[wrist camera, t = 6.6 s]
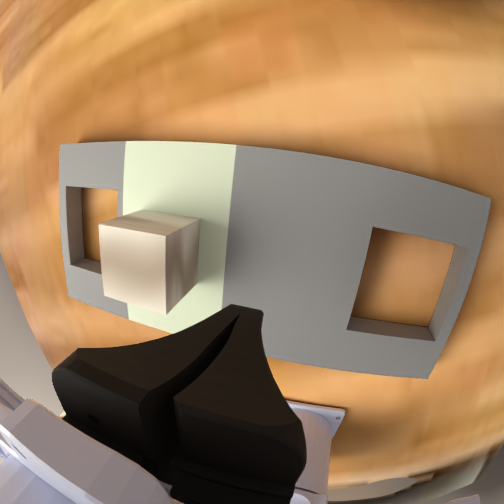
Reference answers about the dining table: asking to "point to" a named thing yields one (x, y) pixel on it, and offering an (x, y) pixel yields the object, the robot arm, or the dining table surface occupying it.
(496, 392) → the dining table surface
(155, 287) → the block
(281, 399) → the robot arm
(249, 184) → the plate
